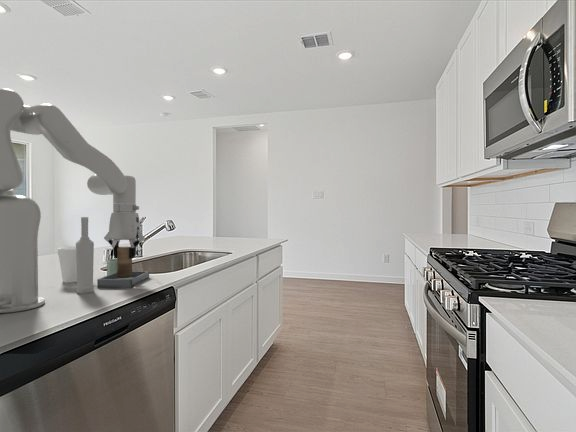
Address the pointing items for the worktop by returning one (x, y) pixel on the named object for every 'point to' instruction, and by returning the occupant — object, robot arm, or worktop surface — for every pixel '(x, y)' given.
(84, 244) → the bottle
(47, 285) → the worktop surface
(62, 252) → the foam cup
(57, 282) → the worktop surface
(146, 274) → the tray
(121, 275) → the walnut peg
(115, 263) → the deep cup
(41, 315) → the worktop surface
